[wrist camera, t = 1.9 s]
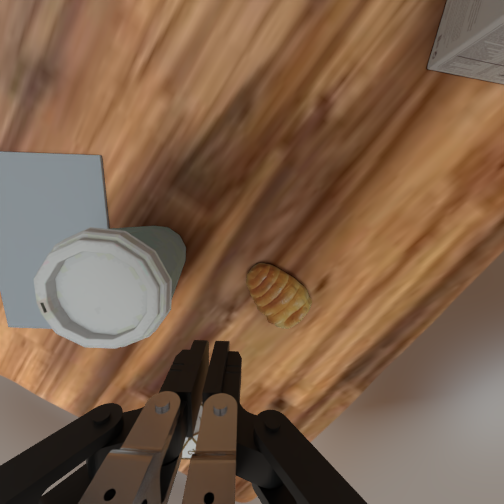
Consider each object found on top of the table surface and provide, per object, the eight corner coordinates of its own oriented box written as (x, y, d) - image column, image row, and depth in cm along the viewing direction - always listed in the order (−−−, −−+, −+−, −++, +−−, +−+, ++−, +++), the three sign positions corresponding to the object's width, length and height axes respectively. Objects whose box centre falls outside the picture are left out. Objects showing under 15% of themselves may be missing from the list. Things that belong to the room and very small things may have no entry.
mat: (-28, 150, 31) (-32, 150, 30) (101, 155, 31) (99, 155, 30) (11, 325, 37) (8, 327, 36) (120, 329, 37) (118, 331, 36)
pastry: (234, 281, 35) (232, 292, 31) (270, 249, 34) (272, 256, 30) (279, 325, 37) (282, 341, 33) (314, 296, 35) (322, 308, 32)
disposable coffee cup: (193, 206, 32) (144, 220, 18) (209, 283, 35) (177, 351, 20) (114, 218, 33) (2, 242, 18) (136, 294, 35) (53, 367, 21)
